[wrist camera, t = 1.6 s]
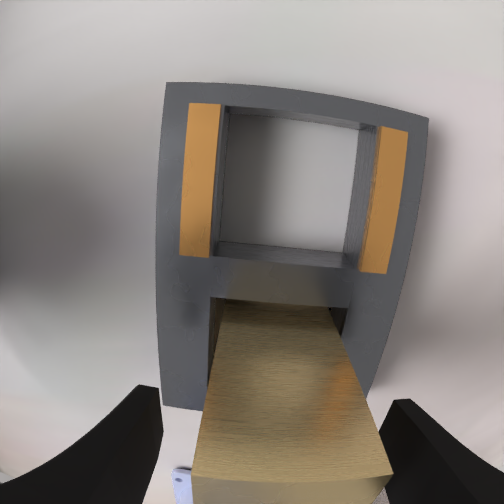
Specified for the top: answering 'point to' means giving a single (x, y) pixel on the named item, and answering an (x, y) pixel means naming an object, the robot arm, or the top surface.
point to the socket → (271, 257)
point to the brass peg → (285, 414)
